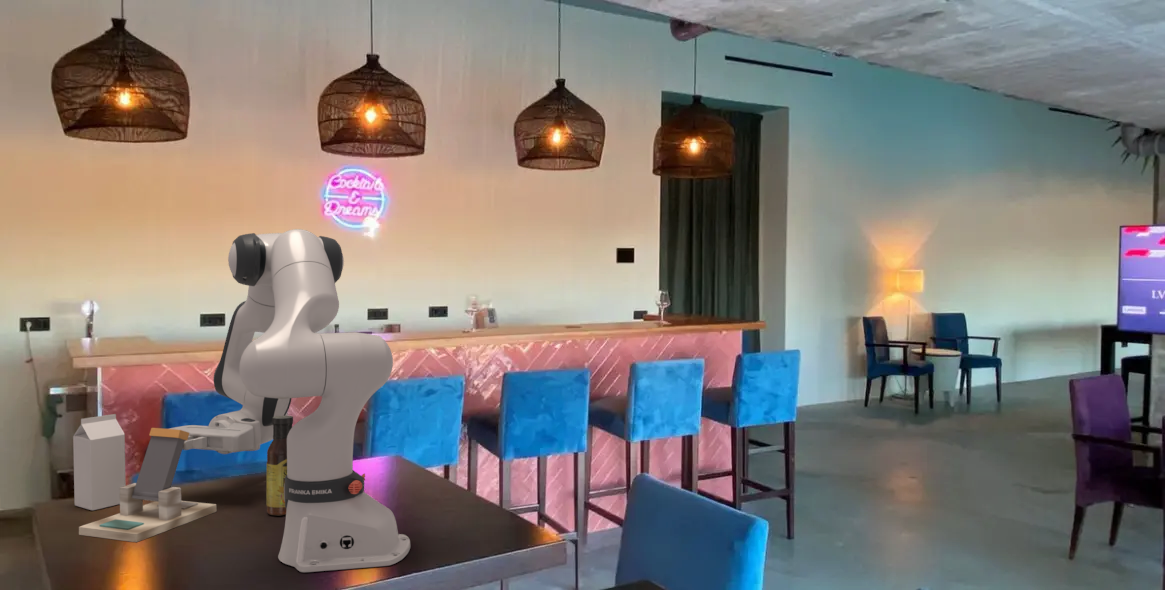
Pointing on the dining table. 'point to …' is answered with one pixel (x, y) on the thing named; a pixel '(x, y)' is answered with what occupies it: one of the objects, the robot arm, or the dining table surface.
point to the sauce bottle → (277, 465)
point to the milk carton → (98, 462)
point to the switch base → (147, 516)
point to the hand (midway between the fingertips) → (179, 445)
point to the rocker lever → (159, 463)
